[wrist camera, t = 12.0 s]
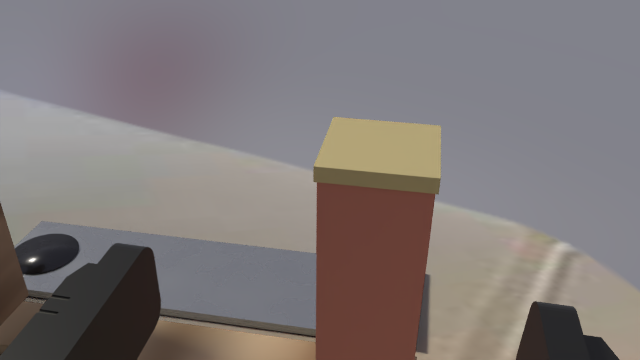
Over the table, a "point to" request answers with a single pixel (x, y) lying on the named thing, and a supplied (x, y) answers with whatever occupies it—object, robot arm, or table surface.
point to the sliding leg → (373, 236)
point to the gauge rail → (167, 338)
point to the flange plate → (187, 275)
